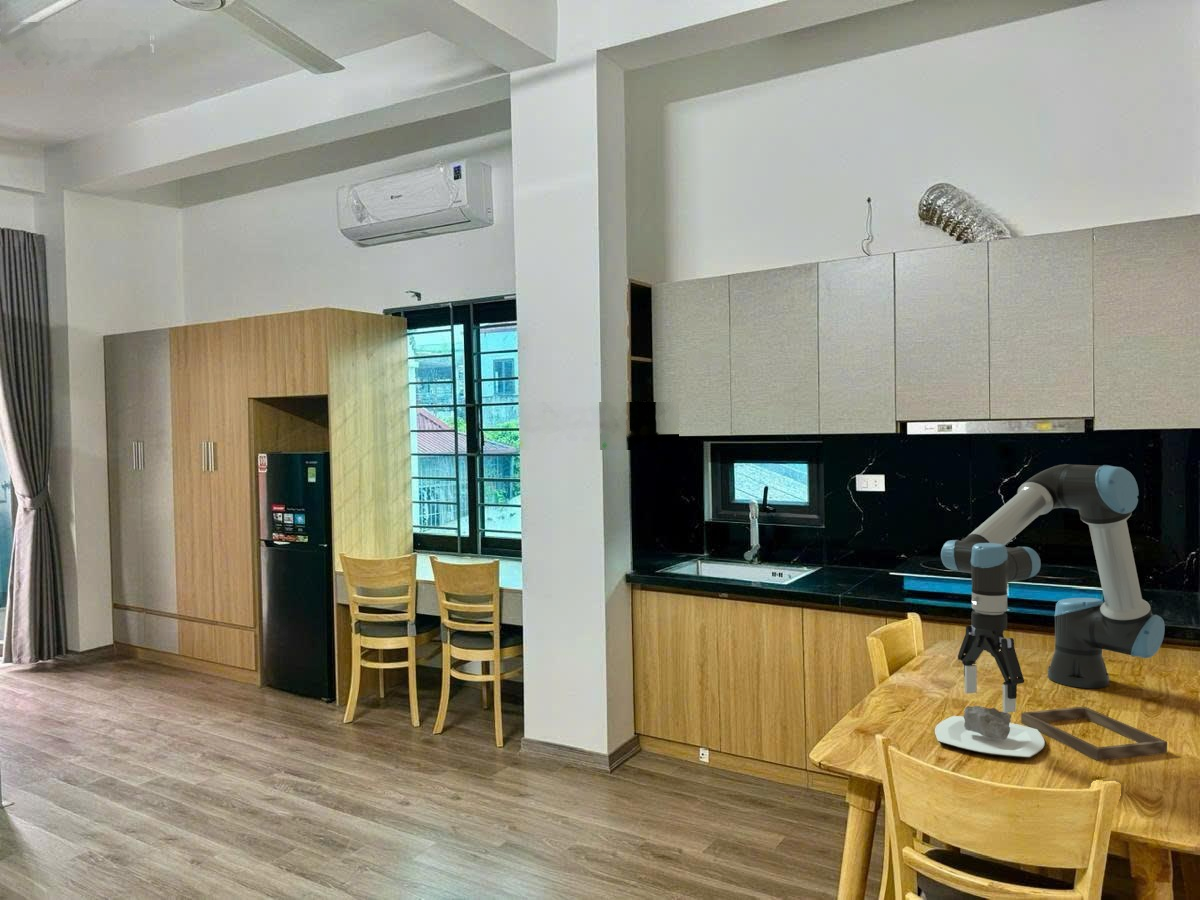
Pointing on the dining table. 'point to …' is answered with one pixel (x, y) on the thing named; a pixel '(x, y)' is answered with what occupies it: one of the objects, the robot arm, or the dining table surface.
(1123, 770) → the dining table surface
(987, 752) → the plate
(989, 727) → the stone
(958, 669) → the dining table surface
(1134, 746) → the empty rectangular frame
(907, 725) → the dining table surface
